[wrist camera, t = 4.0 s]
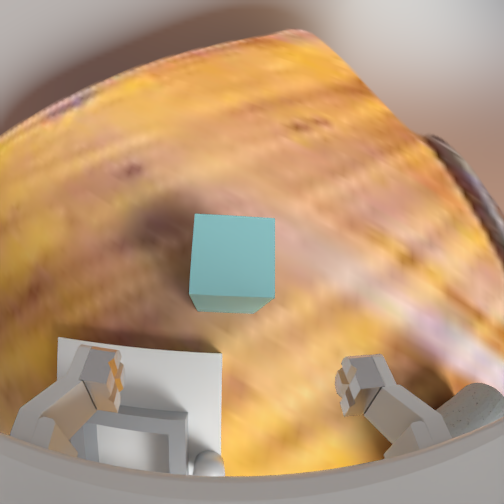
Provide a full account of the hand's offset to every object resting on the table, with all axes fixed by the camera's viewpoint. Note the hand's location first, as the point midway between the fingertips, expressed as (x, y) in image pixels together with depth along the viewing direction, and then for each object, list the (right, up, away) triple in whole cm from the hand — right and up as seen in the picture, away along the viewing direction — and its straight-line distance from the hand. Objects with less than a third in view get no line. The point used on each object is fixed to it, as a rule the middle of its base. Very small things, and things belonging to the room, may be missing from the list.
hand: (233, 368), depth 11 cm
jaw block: (-1, +2, +12) cm, 12 cm away
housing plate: (-8, -10, +8) cm, 15 cm away
